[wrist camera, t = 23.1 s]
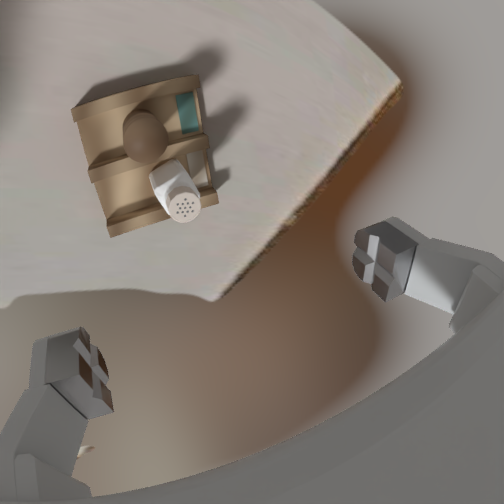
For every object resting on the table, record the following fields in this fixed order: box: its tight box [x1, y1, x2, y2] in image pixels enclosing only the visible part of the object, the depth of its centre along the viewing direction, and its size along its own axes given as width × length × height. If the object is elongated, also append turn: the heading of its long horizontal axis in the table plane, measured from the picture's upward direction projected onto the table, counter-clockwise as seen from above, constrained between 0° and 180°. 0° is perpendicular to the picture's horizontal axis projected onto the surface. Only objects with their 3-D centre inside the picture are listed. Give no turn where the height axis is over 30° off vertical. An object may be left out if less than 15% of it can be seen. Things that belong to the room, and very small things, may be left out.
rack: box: [71, 75, 219, 238], centre depth 33 cm, size 14×16×3 cm
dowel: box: [123, 109, 169, 163], centre depth 28 cm, size 4×4×9 cm
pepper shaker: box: [149, 158, 201, 223], centre depth 32 cm, size 4×4×10 cm
